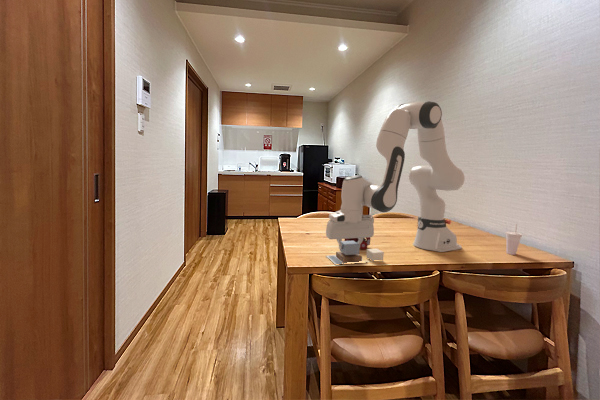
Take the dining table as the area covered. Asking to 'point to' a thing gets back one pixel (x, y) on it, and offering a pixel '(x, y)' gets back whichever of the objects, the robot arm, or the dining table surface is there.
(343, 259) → the plinth
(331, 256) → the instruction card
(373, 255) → the cream brick
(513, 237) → the smoothie
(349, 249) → the slate brick
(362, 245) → the toy fire truck
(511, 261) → the dining table surface
